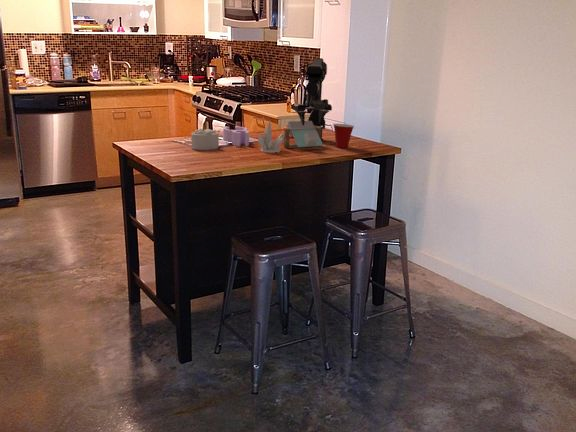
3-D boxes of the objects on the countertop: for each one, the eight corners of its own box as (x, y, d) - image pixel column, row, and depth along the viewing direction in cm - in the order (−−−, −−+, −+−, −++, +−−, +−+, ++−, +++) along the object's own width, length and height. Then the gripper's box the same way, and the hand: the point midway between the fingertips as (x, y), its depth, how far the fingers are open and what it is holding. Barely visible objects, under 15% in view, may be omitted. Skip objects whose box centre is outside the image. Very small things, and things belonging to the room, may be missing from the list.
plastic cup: (355, 147, 289) (357, 123, 285) (348, 150, 279) (350, 126, 276) (335, 144, 293) (337, 121, 289) (328, 147, 284) (330, 124, 280)
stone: (311, 138, 278) (315, 131, 274) (315, 145, 276) (318, 139, 272) (302, 138, 276) (306, 131, 272) (306, 146, 274) (309, 139, 270)
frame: (283, 147, 279) (284, 128, 276) (318, 145, 288) (319, 127, 285) (285, 148, 278) (286, 129, 275) (320, 146, 286) (321, 128, 283)
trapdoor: (285, 126, 282) (288, 121, 279) (310, 125, 288) (312, 120, 285) (296, 150, 274) (298, 146, 271) (320, 149, 280) (323, 144, 277)
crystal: (288, 151, 271) (289, 120, 266) (264, 153, 264) (265, 122, 259) (278, 147, 279) (279, 117, 274) (254, 149, 272) (255, 118, 267)
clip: (254, 146, 281) (255, 132, 279) (231, 147, 276) (231, 133, 274) (241, 138, 298) (242, 125, 296) (219, 139, 293) (219, 126, 291)
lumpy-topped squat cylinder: (221, 148, 271) (221, 130, 269) (198, 151, 263) (198, 132, 260) (209, 144, 279) (209, 127, 276) (186, 147, 271) (186, 129, 268)
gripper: (304, 94, 256) (302, 128, 261) (338, 94, 264) (336, 127, 269) (293, 92, 265) (291, 124, 270) (327, 91, 273) (325, 123, 278)
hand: (311, 125), depth 272 cm, fingers open, 9 cm apart
